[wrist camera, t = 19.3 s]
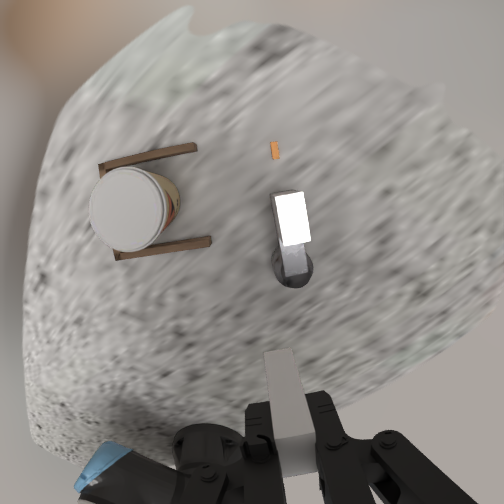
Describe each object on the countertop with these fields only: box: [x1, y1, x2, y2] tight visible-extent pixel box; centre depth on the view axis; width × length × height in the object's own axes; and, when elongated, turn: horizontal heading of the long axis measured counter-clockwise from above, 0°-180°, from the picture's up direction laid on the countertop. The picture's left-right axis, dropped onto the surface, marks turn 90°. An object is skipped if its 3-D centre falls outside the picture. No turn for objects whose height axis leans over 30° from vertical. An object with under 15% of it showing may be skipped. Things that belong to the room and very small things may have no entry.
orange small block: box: [270, 142, 280, 159], centre depth 41 cm, size 2×1×1 cm, turn 8°
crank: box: [270, 190, 311, 288], centre depth 35 cm, size 12×4×7 cm, turn 11°
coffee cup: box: [89, 167, 180, 252], centre depth 37 cm, size 9×9×12 cm
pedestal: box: [272, 246, 313, 288], centre depth 42 cm, size 5×5×5 cm
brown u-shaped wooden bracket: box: [98, 142, 212, 261], centre depth 41 cm, size 14×14×2 cm
